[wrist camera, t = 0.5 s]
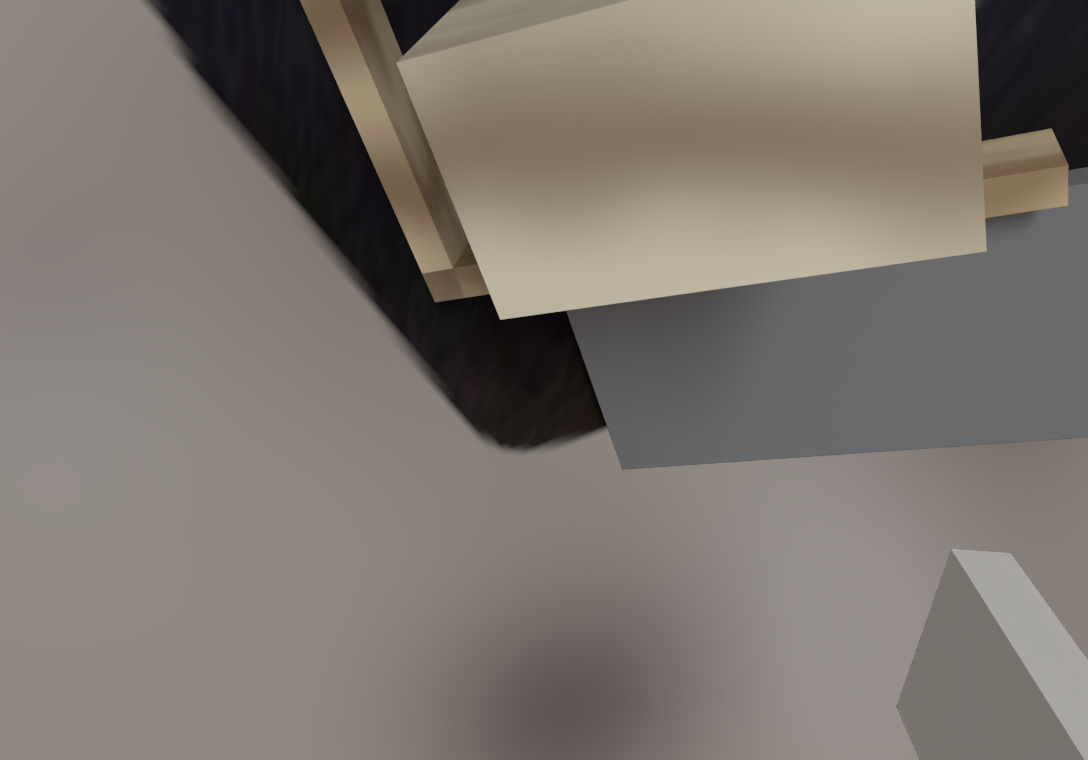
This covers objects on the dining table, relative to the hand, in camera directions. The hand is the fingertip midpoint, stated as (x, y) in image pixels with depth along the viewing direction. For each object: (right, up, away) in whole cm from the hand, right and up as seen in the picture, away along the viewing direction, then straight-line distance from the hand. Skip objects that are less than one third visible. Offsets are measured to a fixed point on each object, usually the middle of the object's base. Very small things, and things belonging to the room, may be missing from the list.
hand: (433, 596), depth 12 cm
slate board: (+14, +5, +28) cm, 32 cm away
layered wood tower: (+8, +18, +19) cm, 27 cm away
